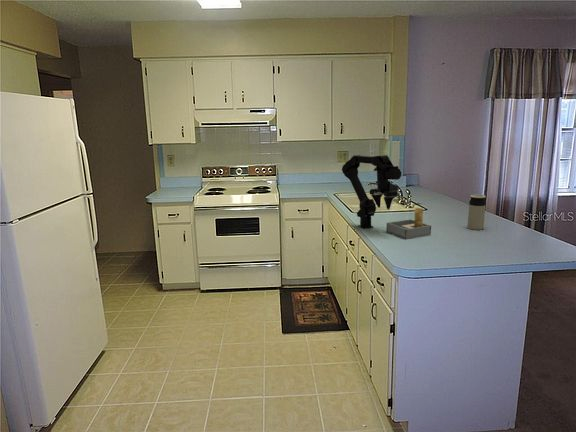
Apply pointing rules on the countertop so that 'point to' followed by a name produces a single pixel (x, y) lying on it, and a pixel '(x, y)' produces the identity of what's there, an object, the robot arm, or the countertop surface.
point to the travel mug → (476, 212)
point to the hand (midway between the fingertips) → (383, 208)
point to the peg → (418, 217)
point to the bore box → (408, 229)
